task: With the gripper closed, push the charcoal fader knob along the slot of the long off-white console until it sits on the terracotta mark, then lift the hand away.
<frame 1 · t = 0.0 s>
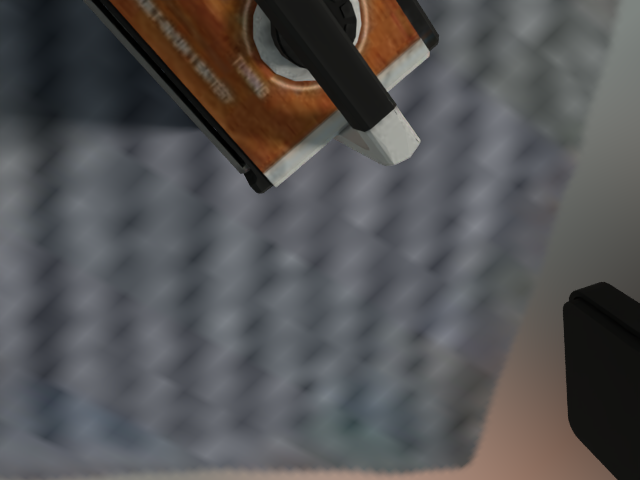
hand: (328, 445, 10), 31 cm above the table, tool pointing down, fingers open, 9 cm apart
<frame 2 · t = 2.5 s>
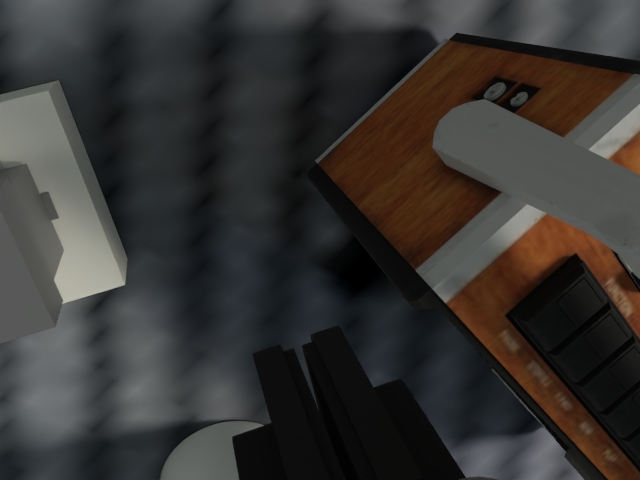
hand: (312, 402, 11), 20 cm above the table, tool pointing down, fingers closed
candle holder: (228, 472, 37), on the table
radio cassette player: (506, 260, 37), on the table
fader knob: (0, 243, 23), point 6 cm above the table, slide at 0.0 cm
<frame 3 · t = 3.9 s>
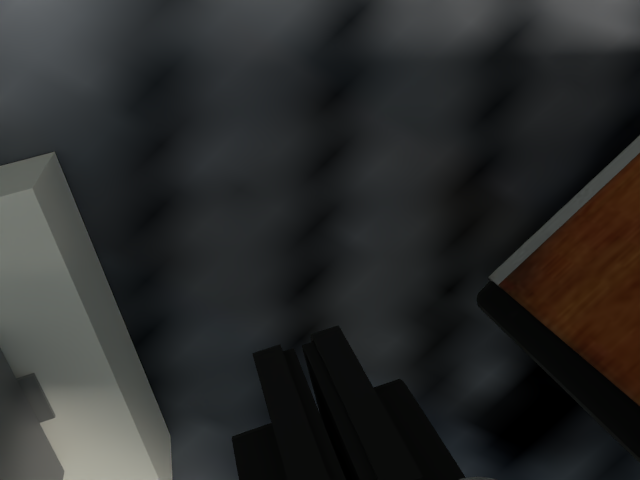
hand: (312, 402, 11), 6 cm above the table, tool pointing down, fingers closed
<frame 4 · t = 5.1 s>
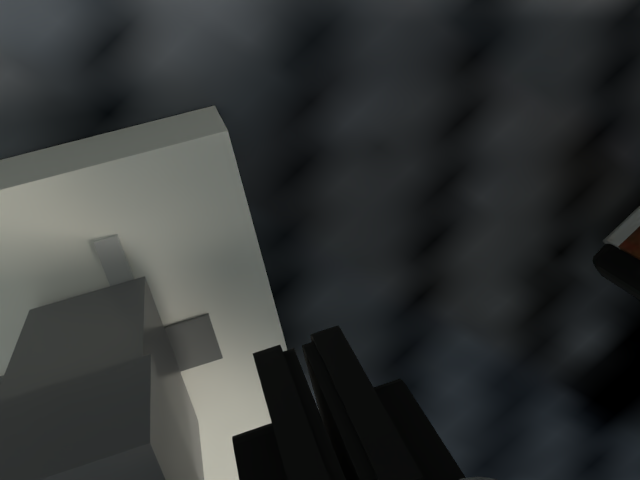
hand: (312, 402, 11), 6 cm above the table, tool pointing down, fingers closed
fader knob: (111, 463, 11), point 6 cm above the table, slide at 0.7 cm, touching gripper
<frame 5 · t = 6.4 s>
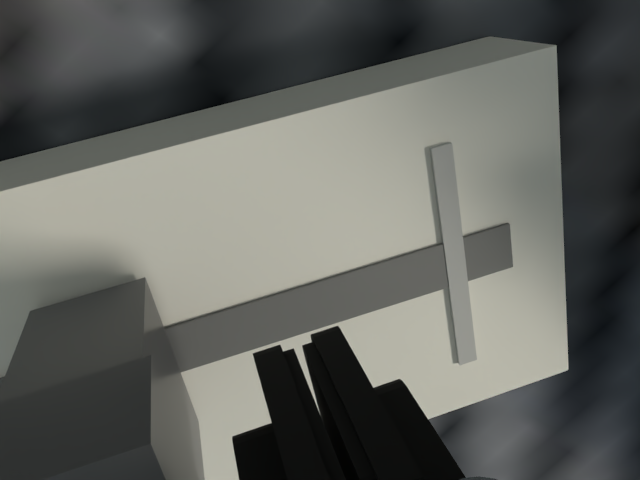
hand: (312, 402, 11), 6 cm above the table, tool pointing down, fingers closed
fader knob: (112, 464, 11), point 6 cm above the table, slide at 8.2 cm, touching gripper
fader console: (133, 301, 16), on the table
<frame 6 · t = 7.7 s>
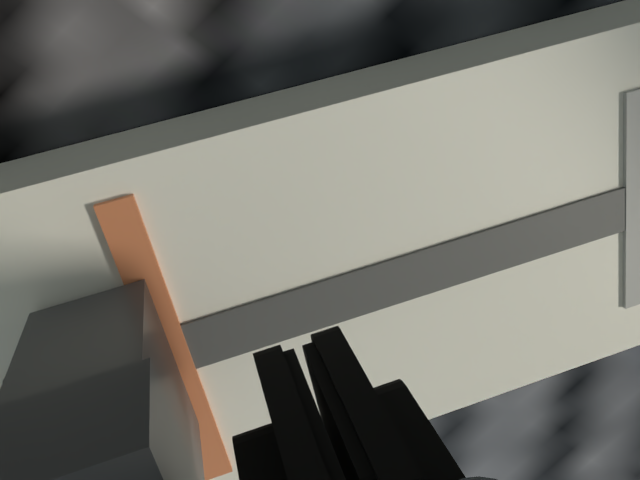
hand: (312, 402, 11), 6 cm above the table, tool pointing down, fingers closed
fader knob: (112, 466, 11), point 6 cm above the table, slide at 13.2 cm, touching gripper
fader console: (307, 250, 17), on the table
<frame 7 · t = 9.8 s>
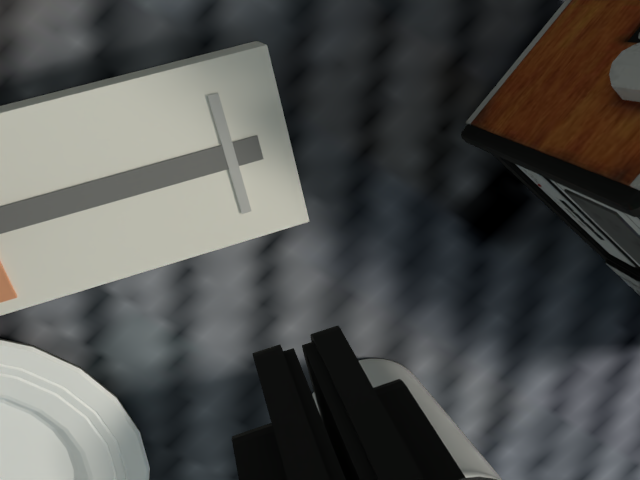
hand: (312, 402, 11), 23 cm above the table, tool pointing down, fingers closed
candle holder: (362, 408, 41), on the table
radio cassette player: (630, 189, 40), on the table
fader console: (70, 184, 31), on the table
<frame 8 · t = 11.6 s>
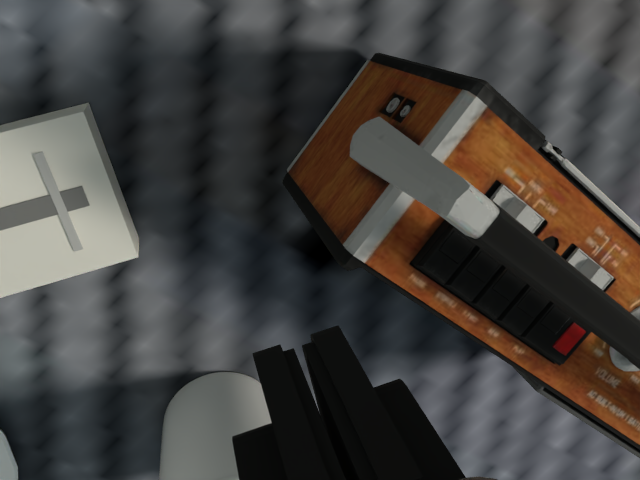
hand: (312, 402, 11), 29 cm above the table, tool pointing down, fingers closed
candle holder: (219, 415, 46), on the table
radio cassette player: (460, 217, 45), on the table
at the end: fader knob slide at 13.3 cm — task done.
